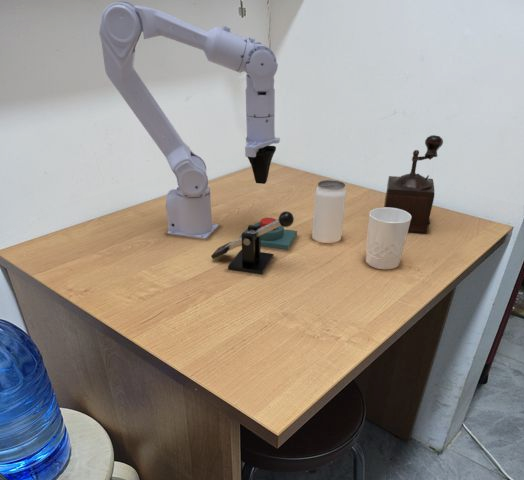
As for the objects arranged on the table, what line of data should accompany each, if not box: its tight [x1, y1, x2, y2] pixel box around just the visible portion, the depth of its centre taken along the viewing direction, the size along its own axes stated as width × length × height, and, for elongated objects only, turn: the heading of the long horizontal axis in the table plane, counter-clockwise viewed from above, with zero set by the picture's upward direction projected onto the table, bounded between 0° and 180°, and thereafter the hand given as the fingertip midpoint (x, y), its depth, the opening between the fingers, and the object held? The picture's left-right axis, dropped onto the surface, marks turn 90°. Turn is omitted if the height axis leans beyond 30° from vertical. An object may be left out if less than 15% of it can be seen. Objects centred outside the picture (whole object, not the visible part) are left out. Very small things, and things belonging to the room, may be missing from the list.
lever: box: [210, 211, 295, 260], centre depth 94 cm, size 18×4×3 cm
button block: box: [239, 221, 298, 251], centre depth 106 cm, size 11×8×3 cm
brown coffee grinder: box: [383, 134, 444, 234], centre depth 112 cm, size 16×11×18 cm
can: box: [311, 179, 347, 244], centre depth 104 cm, size 6×6×12 cm
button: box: [259, 217, 277, 231], centre depth 104 cm, size 4×4×2 cm
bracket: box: [227, 224, 275, 276], centre depth 95 cm, size 7×8×7 cm
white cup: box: [365, 206, 412, 270], centre depth 96 cm, size 8×8×10 cm
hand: (261, 182), depth 106 cm, fingers closed
